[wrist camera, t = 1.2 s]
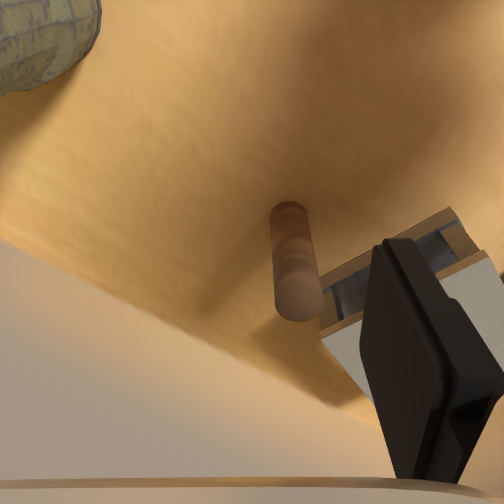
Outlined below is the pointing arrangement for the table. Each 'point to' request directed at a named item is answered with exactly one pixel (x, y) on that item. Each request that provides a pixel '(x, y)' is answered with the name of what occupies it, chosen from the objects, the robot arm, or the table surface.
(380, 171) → the table surface
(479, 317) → the box
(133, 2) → the table surface
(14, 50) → the thermos
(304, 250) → the dowel
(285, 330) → the table surface
